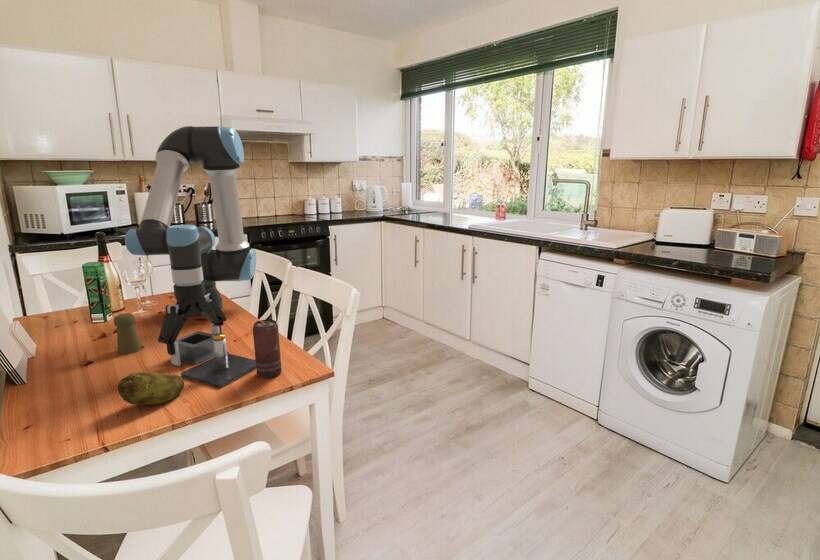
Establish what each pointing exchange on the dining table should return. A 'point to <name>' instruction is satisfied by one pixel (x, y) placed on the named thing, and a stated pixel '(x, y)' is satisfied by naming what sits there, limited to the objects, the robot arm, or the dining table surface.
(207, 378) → the post
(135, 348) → the cork
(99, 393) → the dining table surface
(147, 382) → the green avocado
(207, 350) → the grey open square box
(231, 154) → the robot arm
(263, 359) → the can
